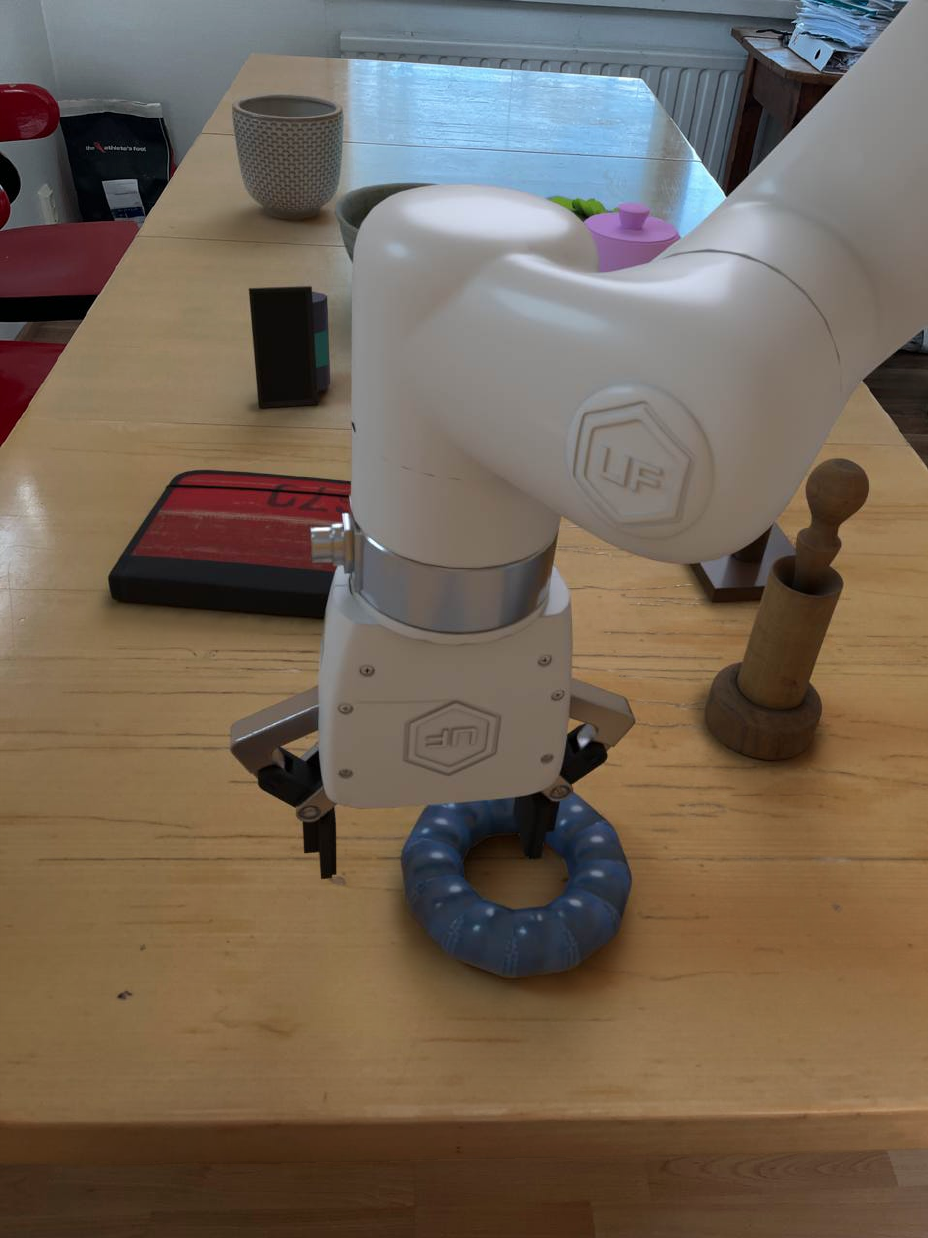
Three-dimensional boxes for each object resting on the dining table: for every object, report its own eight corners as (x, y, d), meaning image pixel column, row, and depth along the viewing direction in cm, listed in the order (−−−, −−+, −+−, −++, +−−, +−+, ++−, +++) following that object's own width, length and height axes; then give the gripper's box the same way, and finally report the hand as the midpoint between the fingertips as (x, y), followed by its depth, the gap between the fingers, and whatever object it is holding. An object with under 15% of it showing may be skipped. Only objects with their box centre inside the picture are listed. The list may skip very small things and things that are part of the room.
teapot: (712, 319, 113) (740, 191, 104) (739, 379, 100) (774, 239, 92) (517, 306, 112) (529, 176, 104) (520, 364, 100) (535, 223, 91)
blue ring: (653, 973, 47) (665, 936, 45) (417, 1002, 45) (420, 965, 43) (590, 794, 56) (598, 756, 54) (390, 812, 54) (391, 774, 52)
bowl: (397, 257, 122) (399, 170, 116) (553, 295, 115) (564, 205, 109) (298, 309, 108) (294, 213, 101) (469, 357, 101) (476, 257, 94)
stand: (816, 596, 72) (859, 472, 66) (711, 602, 71) (745, 476, 64) (771, 534, 78) (807, 415, 72) (674, 538, 77) (702, 418, 70)
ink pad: (426, 600, 65) (104, 574, 65) (424, 629, 66) (109, 603, 66) (444, 483, 78) (175, 461, 78) (442, 509, 79) (179, 488, 79)
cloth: (541, 253, 126) (544, 234, 125) (473, 202, 142) (474, 184, 140) (678, 242, 133) (682, 223, 132) (599, 194, 149) (601, 177, 147)
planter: (255, 232, 126) (247, 120, 118) (227, 200, 136) (219, 94, 128) (359, 224, 131) (359, 116, 123) (325, 193, 141) (323, 91, 133)
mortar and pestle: (745, 672, 65) (824, 421, 54) (833, 727, 61) (938, 470, 50) (682, 717, 61) (753, 457, 50) (772, 779, 57) (870, 514, 46)
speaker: (320, 412, 89) (313, 293, 83) (257, 408, 89) (245, 290, 84) (338, 383, 95) (333, 271, 90) (279, 380, 96) (270, 268, 90)
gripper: (209, 626, 33) (242, 931, 43) (708, 603, 36) (624, 893, 46) (214, 502, 38) (242, 799, 49) (644, 490, 41) (582, 772, 52)
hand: (428, 844), depth 48 cm, fingers open, 9 cm apart
